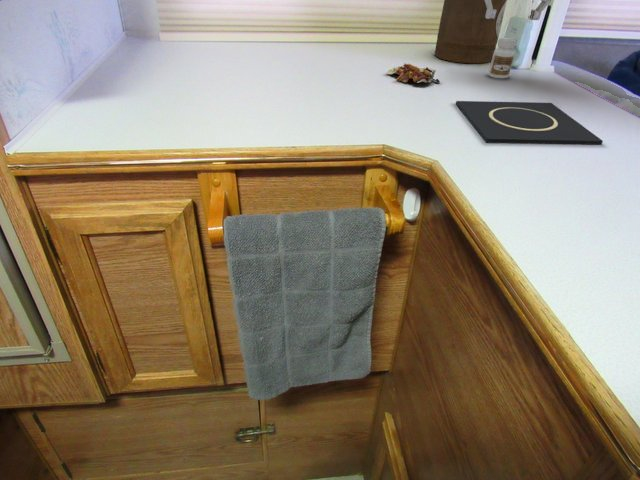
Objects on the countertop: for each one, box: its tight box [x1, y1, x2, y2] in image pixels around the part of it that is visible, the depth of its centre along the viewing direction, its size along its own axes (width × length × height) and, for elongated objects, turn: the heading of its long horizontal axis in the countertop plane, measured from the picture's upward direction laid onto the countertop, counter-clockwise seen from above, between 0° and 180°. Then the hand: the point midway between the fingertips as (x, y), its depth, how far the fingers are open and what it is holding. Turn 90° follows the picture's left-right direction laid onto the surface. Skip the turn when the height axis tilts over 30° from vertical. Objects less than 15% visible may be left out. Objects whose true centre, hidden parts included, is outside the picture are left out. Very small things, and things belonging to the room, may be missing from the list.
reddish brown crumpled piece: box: [386, 62, 441, 84], centre depth 92 cm, size 7×12×4 cm, turn 42°
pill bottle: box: [488, 37, 517, 79], centre depth 94 cm, size 4×4×8 cm
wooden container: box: [434, 0, 508, 65], centre depth 104 cm, size 15×15×22 cm
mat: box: [455, 100, 603, 145], centre depth 72 cm, size 18×18×1 cm
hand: (511, 19), depth 89 cm, fingers open, 8 cm apart
